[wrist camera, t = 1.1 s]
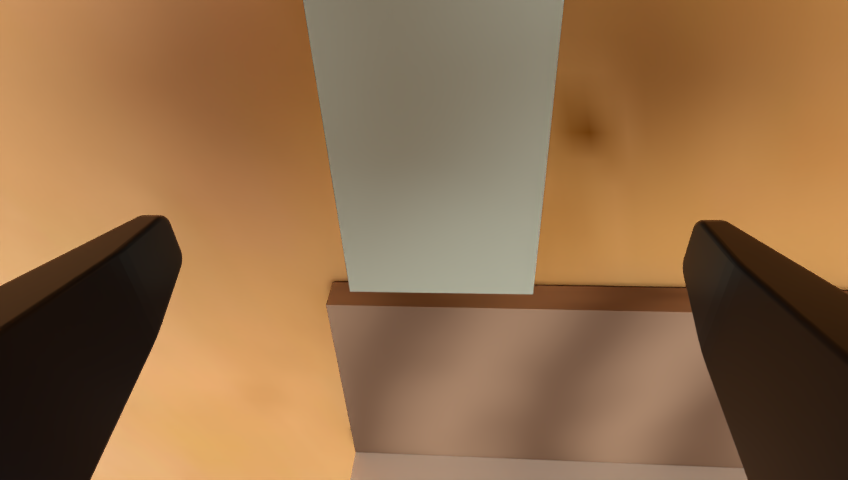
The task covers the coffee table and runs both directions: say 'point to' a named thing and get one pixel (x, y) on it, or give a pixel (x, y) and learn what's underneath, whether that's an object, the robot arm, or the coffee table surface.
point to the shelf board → (529, 375)
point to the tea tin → (437, 137)
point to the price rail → (522, 469)
